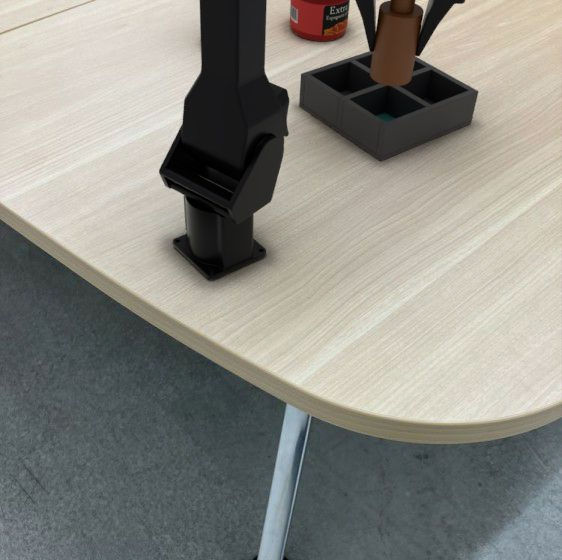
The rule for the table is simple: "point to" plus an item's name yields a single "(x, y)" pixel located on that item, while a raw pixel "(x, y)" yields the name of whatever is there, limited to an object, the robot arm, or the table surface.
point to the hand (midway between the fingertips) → (394, 52)
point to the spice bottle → (396, 42)
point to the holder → (386, 105)
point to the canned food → (319, 18)
